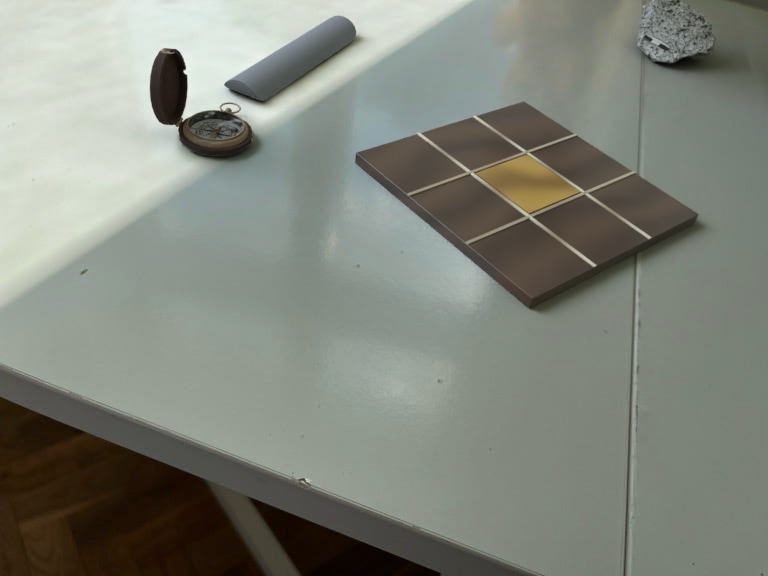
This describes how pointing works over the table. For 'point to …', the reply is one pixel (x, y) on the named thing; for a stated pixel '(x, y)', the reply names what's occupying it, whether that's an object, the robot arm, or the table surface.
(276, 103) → the table surface
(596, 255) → the grid board
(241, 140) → the compass
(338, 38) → the gray half cylinder
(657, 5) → the rock sample
